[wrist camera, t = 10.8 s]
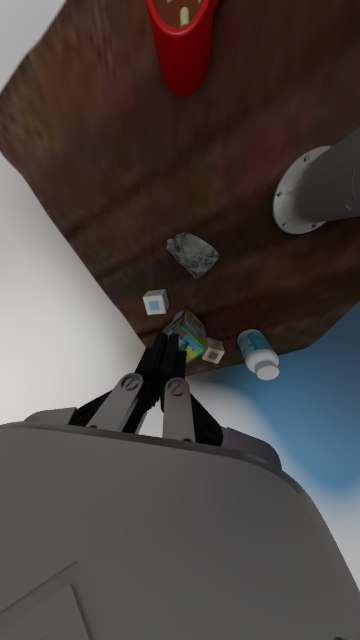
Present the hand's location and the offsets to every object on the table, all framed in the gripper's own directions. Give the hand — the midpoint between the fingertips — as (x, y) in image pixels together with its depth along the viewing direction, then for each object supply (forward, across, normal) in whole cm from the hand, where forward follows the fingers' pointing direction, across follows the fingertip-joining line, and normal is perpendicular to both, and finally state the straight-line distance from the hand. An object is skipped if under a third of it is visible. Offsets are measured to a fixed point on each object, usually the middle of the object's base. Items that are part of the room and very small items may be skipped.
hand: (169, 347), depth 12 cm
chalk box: (+29, 0, +15) cm, 33 cm away
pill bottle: (+29, -20, +18) cm, 40 cm away
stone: (+29, -1, -5) cm, 30 cm away
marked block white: (+29, +8, +7) cm, 31 cm away
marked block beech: (+29, -9, +22) cm, 38 cm away
